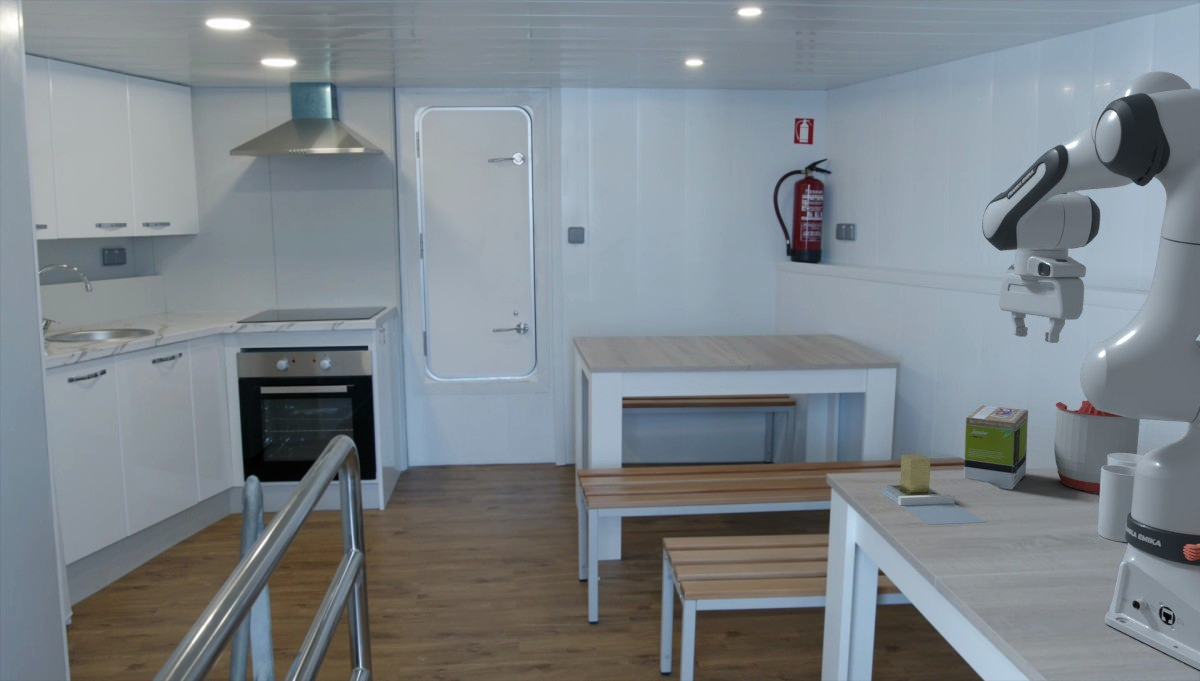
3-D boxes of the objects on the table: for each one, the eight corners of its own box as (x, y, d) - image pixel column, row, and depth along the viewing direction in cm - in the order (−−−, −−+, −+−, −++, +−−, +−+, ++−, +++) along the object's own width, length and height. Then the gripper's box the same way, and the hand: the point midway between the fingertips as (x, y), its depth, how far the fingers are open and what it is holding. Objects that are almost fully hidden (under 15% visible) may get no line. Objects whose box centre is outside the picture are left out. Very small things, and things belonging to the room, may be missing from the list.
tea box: (978, 467, 197) (981, 403, 195) (1026, 475, 191) (1030, 409, 190) (961, 483, 185) (965, 415, 183) (1012, 491, 179) (1017, 421, 177)
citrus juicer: (1087, 471, 194) (1094, 383, 191) (1154, 494, 177) (1162, 398, 174) (1027, 476, 190) (1033, 386, 187) (1090, 500, 173) (1097, 401, 171)
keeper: (941, 500, 169) (942, 494, 169) (904, 502, 168) (904, 496, 168) (922, 489, 177) (922, 483, 177) (886, 490, 176) (886, 485, 176)
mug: (1141, 545, 148) (1146, 477, 147) (1096, 538, 151) (1101, 472, 150) (1139, 528, 157) (1144, 463, 155) (1096, 522, 160) (1101, 459, 159)
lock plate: (986, 527, 157) (986, 513, 157) (928, 529, 156) (929, 516, 156) (925, 491, 179) (926, 479, 179) (875, 493, 178) (875, 481, 177)
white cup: (1094, 502, 172) (1098, 453, 171) (1131, 501, 173) (1135, 452, 171) (1122, 515, 164) (1126, 463, 163) (1161, 513, 165) (1165, 462, 164)
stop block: (928, 498, 171) (930, 459, 170) (909, 499, 170) (911, 459, 169) (918, 492, 175) (920, 453, 174) (899, 493, 174) (901, 454, 173)
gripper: (992, 263, 172) (988, 333, 173) (1059, 268, 152) (1054, 346, 153) (1022, 263, 173) (1018, 332, 174) (1093, 267, 152) (1087, 345, 154)
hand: (1035, 339), depth 164 cm, fingers open, 8 cm apart
